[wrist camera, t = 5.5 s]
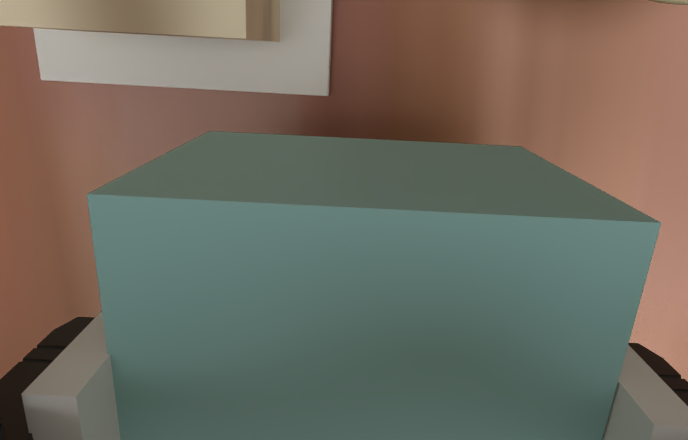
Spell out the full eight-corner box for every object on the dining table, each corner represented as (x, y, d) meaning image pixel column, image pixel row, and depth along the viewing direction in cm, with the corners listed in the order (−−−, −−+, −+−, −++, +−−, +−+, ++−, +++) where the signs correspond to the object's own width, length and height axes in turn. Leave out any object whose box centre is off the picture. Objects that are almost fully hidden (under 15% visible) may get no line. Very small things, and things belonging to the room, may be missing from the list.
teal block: (220, 389, 15) (138, 593, 9) (209, 130, 12) (86, 194, 7) (478, 403, 15) (554, 616, 9) (520, 146, 12) (661, 222, 7)
